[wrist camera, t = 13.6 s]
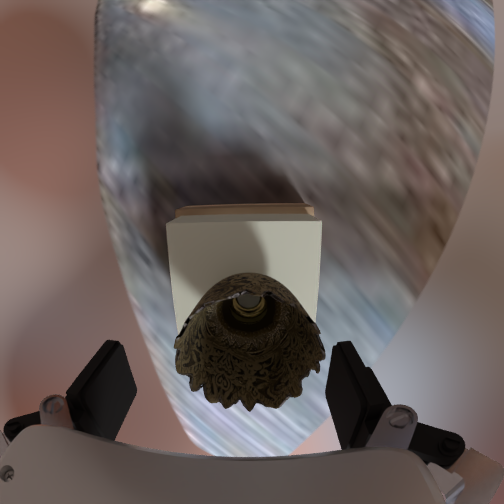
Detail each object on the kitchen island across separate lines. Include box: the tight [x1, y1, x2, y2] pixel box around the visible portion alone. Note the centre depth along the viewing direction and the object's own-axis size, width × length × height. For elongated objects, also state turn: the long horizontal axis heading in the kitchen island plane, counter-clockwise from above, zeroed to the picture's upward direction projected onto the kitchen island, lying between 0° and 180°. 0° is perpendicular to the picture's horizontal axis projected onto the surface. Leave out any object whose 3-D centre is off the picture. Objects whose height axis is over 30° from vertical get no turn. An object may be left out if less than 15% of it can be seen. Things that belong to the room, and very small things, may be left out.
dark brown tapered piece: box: [174, 273, 325, 412], centre depth 16 cm, size 8×7×8 cm
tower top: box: [166, 214, 322, 335], centre depth 22 cm, size 11×11×4 cm
